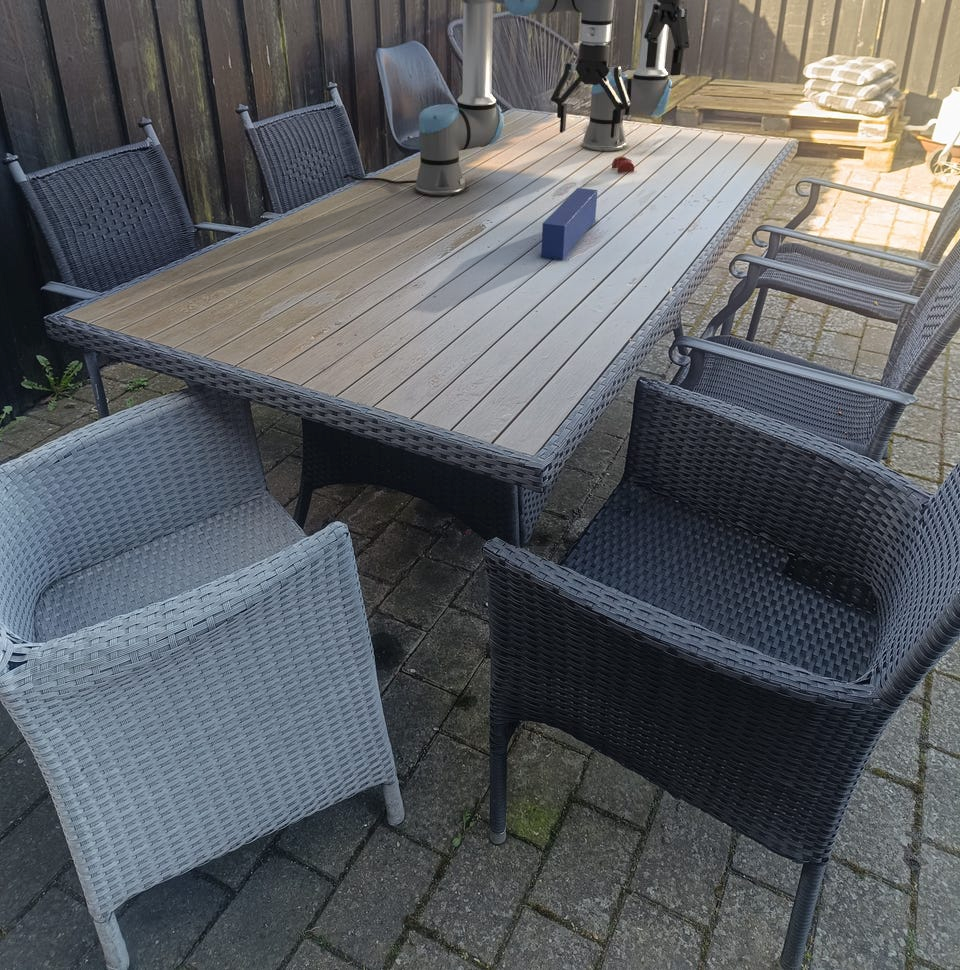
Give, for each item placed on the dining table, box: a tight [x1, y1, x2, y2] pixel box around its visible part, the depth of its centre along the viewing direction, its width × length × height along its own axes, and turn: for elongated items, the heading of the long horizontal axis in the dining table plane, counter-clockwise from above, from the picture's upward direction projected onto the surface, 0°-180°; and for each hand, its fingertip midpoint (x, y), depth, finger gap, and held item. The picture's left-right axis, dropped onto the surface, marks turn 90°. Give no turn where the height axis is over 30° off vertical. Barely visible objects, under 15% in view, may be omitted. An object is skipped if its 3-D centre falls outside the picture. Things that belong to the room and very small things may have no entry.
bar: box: [540, 187, 598, 261], centre depth 221 cm, size 32×6×9 cm, turn 159°
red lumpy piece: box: [611, 156, 635, 174], centre depth 274 cm, size 6×4×8 cm
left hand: (587, 134), depth 219 cm, fingers open, 13 cm apart
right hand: (662, 71), depth 243 cm, fingers open, 13 cm apart
